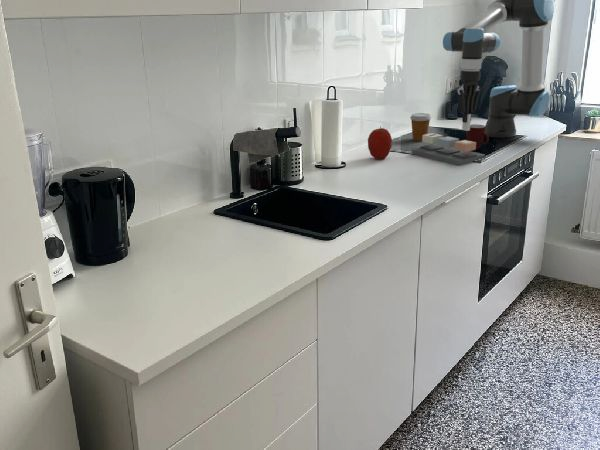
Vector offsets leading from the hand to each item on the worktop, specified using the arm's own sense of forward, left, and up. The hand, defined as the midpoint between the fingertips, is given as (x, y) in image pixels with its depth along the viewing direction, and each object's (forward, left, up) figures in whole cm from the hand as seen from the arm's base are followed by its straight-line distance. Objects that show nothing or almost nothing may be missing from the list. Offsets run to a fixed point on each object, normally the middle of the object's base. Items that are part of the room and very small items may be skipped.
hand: (465, 130), depth 239 cm
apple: (+24, -25, -13) cm, 37 cm away
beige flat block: (0, 0, -8) cm, 8 cm away
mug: (-20, -10, -13) cm, 26 cm away
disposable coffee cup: (-14, -39, -13) cm, 44 cm away
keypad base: (0, -9, -13) cm, 16 cm away
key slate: (0, -9, -8) cm, 12 cm away
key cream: (0, -18, -8) cm, 20 cm away
